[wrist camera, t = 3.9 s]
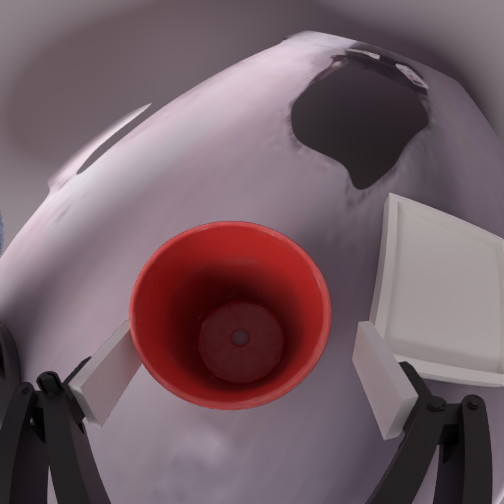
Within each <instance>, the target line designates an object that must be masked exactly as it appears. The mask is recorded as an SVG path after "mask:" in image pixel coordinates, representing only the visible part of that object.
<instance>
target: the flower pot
mask: <svg viewBox="0 0 504 504" xmlns="http://www.w3.org/2000/svg"><path fill="white" fill-rule="evenodd" d="M129 321H130V330H131V335H132V339H133V343H134V346H135V349H136V351H137V353H138V356H139V358H140V359H141V361H142V363H143V364H144V366H145V368H146V369H147V370H148V372H149V373H150V374H151V375H152V377H153V378H154V379H155V380H156V381H157V382H159V383H160V384H161V385H162V386H163V387H164V388H165V389H167V390H168V391H169V392H171V393H172V394H174V395H176V396H177V397H179V398H181V399H183V400H185V401H188V402H190V403H193V404H196V405H199V406H202V407H206V408H211V409H219V410H240V409H248V408H253V407H257V406H261V405H264V404H266V403H269V402H271V401H274V400H276V399H278V398H280V397H281V396H283V395H285V394H287V393H288V392H289V391H291V390H292V389H294V388H295V387H296V386H297V385H298V384H300V383H301V382H302V381H303V380H304V379H305V378H306V377H307V376H308V375H309V373H310V372H311V371H312V370H313V368H314V367H315V365H316V364H317V362H318V361H319V359H320V357H321V355H322V354H323V351H324V349H325V347H326V344H327V341H328V338H329V334H330V329H331V321H332V306H331V299H330V294H329V290H328V287H327V284H326V281H325V279H324V277H323V275H322V273H321V271H320V269H319V268H318V266H317V265H316V263H315V262H314V261H313V259H312V258H311V257H310V256H309V255H308V253H307V252H306V251H305V250H304V249H303V248H301V247H300V246H299V245H298V244H297V243H295V242H294V241H293V240H291V239H290V238H288V237H287V236H285V235H283V234H281V233H279V232H277V231H275V230H273V229H271V228H268V227H265V226H262V225H259V224H255V223H250V222H242V221H221V222H213V223H208V224H204V225H200V226H197V227H194V228H192V229H189V230H187V231H184V232H182V233H180V234H179V235H177V236H175V237H173V238H172V239H170V240H169V241H167V242H166V243H165V244H163V245H162V246H161V247H160V248H159V249H158V250H157V251H156V252H155V253H154V254H153V255H152V256H151V257H150V259H149V260H148V261H147V263H146V264H145V265H144V267H143V269H142V270H141V272H140V274H139V276H138V278H137V280H136V283H135V286H134V288H133V292H132V296H131V301H130V309H129Z"/></svg>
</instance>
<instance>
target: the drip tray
mask: <svg viewBox="0 0 504 504" xmlns="http://www.w3.org/2000/svg"><path fill="white" fill-rule="evenodd" d="M369 321H371V322H372V324H373V325H374V327H375V328H376V330H377V331H378V333H379V334H380V336H381V337H382V339H383V340H384V342H385V343H386V345H387V346H388V348H389V349H390V351H391V352H392V354H393V356H394V357H395V359H396V360H397V362H403V361H406V362H408V363H409V364H411V365H412V366H413V367H414V368H415V370H416V371H417V374H419V376H420V377H421V378H425V379H431V380H437V381H444V382H450V383H457V384H465V385H473V386H482V387H492V388H498V387H502V386H504V239H502V238H500V237H498V236H496V235H494V234H492V233H490V232H488V231H486V230H484V229H482V228H479V227H477V226H475V225H473V224H471V223H468V222H466V221H464V220H461V219H459V218H457V217H454V216H452V215H449V214H447V213H445V212H442V211H440V210H437V209H434V208H432V207H429V206H427V205H424V204H421V203H419V202H416V201H413V200H410V199H407V198H405V197H402V196H399V195H396V194H393V193H389V195H388V197H387V199H386V202H385V204H384V210H383V224H382V235H381V244H380V253H379V261H378V268H377V275H376V282H375V288H374V294H373V300H372V305H371V311H370V316H369Z"/></svg>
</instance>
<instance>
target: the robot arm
mask: <svg viewBox="0 0 504 504" xmlns="http://www.w3.org/2000/svg"><path fill="white" fill-rule="evenodd" d="M3 244H4V225H3V219H2V215H1V211H0V254H1V251H2V248H3ZM352 361H353V364H354V366H355V368H356V371H357V373H358V376H359V378H360V380H361V383H362V385H363V388H364V390H365V393H366V395H367V398H368V400H369V403H370V405H371V408H372V410H373V413H374V415H375V418H376V421H377V423H378V426H379V429H380V431H381V434H382V437H383V439H384V440H387V439H391V438H395V437H399V435H400V433H401V431H402V429H403V430H404V433H405V437H404V438H403V440H402V442H401V444H400V445H399V447H398V450H397V452H396V454H395V456H394V458H393V460H392V462H391V463H390V465H389V467H388V469H387V470H386V472H385V474H384V475H383V477H382V479H381V480H380V482H379V484H378V485H377V487H376V488H375V490H374V491H373V493H372V494H371V496H370V497H369V499H368V500H367V502H366V503H365V504H412V502H413V500H414V498H415V496H416V494H417V492H418V490H419V488H420V486H421V483H422V481H423V479H424V477H425V474H426V472H427V470H428V467H429V465H430V462H431V460H432V457H433V455H434V452H435V449H436V446H437V445H440V449H439V462H438V472H437V480H436V487H435V494H434V499H433V504H492V453H491V441H490V432H489V425H488V418H487V412H486V406H485V402H484V400H483V399H482V398H481V397H479V396H477V395H473V394H471V395H467V396H465V397H464V399H463V400H462V402H461V403H457V404H447V403H446V401H445V400H444V399H442V398H440V397H437V396H433V395H432V394H431V392H430V391H429V389H428V388H427V386H426V385H425V383H424V382H423V380H422V379H421V377H420V376H419V374H417V371H416V370H415V368H414V367H413V366H412V365H411V364H409V363H408V362H406V361H403V362H397V360H396V359H395V357H394V356H393V354H392V352H391V351H390V349H389V348H388V346H387V345H386V343H385V342H384V340H383V339H382V337H381V336H380V334H379V333H378V331H377V330H376V328H375V327H374V325H373V324H372V322H371V321H361V322H358V327H357V334H356V340H355V345H354V351H353V356H352ZM141 364H142V361H141V359H140V358H139V356H138V353H137V351H136V349H135V346H134V343H133V339H132V335H131V330H130V321H129V320H126V321H125V322H124V323H123V324H122V325H121V326H120V327H119V328H118V329H117V331H116V332H115V333H114V334H113V335H112V336H111V337H110V338H109V339H108V340H107V341H106V342H105V343H104V345H103V346H102V347H101V348H100V349H99V350H98V351H97V352H96V353H95V354H94V355H93V357H88V358H86V359H85V360H83V361H82V362H81V363H80V364H79V365H78V367H76V368H75V369H74V371H73V372H72V373H71V374H70V375H69V376H68V377H67V378H66V379H65V380H64V382H63V383H61V381H60V378H59V376H58V374H57V373H56V372H53V371H47V372H44V373H42V374H41V375H39V376H38V378H37V380H36V382H37V384H38V386H39V388H40V390H41V391H36V390H35V389H34V387H33V385H32V384H31V383H29V382H24V383H20V370H19V361H18V356H17V351H16V347H15V344H14V341H13V339H12V336H11V335H10V333H9V331H8V330H7V329H6V327H5V326H3V325H2V324H0V504H47V488H48V469H49V466H50V471H51V476H52V481H53V486H54V490H55V494H56V498H57V502H58V504H111V502H110V500H109V498H108V495H107V493H106V491H105V488H104V486H103V483H102V480H101V478H100V475H99V472H98V469H97V466H96V463H95V460H94V457H93V454H92V451H91V447H90V444H89V440H88V437H87V433H86V429H85V425H84V423H83V421H82V420H83V418H84V417H86V419H87V420H88V422H89V424H92V425H95V426H98V427H102V426H103V424H104V422H105V421H106V419H107V418H108V416H109V414H110V413H111V411H112V410H113V408H114V406H115V405H116V403H117V402H118V400H119V398H120V397H121V395H122V394H123V392H124V390H125V389H126V387H127V386H128V384H129V383H130V381H131V379H132V378H133V376H134V375H135V373H136V372H137V370H138V369H139V367H140V366H141ZM30 422H31V423H30Z"/></svg>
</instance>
